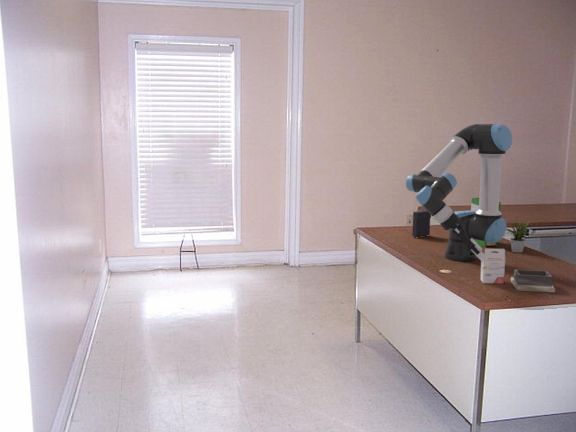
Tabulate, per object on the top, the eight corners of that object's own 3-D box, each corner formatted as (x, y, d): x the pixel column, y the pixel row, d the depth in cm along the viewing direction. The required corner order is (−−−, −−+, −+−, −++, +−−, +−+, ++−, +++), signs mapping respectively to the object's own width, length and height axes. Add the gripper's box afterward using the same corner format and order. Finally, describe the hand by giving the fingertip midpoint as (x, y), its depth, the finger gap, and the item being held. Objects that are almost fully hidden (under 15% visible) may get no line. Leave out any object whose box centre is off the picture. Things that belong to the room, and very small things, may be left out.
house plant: (514, 246, 288) (516, 216, 286) (538, 251, 277) (540, 220, 274) (497, 250, 281) (499, 219, 278) (521, 255, 269) (523, 223, 267)
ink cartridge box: (500, 280, 228) (503, 246, 225) (504, 283, 223) (506, 249, 220) (479, 279, 229) (481, 245, 226) (482, 283, 224) (484, 248, 221)
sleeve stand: (510, 280, 228) (511, 267, 227) (546, 282, 225) (547, 269, 224) (516, 290, 214) (517, 276, 213) (555, 292, 211) (556, 278, 210)
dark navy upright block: (424, 234, 319) (425, 209, 316) (430, 236, 315) (431, 210, 313) (411, 237, 313) (412, 211, 310) (416, 238, 309) (417, 212, 307)
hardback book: (497, 246, 288) (500, 202, 284) (484, 247, 287) (487, 202, 283) (481, 239, 306) (484, 197, 301) (469, 240, 305) (471, 197, 300)
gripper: (438, 218, 237) (471, 253, 237) (440, 229, 213) (478, 268, 213) (451, 207, 235) (485, 242, 234) (455, 216, 211) (493, 256, 211)
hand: (482, 255), depth 224 cm, fingers open, 13 cm apart
